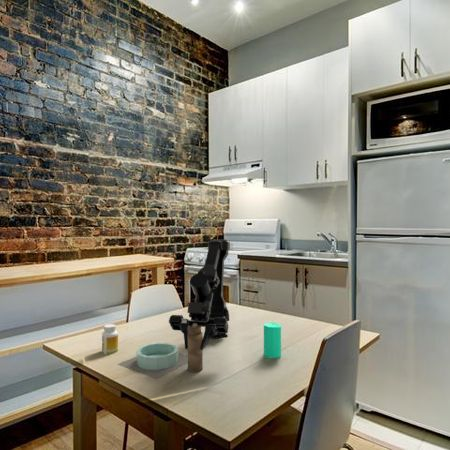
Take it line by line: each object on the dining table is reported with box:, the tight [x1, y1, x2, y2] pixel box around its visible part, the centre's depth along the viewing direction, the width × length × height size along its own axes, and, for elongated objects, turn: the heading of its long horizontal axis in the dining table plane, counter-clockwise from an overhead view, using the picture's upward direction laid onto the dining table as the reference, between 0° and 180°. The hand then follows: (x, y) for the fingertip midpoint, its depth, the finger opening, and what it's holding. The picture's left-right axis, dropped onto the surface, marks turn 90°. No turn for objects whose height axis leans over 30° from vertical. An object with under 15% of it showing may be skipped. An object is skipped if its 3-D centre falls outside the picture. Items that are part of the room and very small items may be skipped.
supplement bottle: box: [101, 323, 119, 355], centre depth 124 cm, size 5×5×10 cm
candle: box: [263, 320, 282, 359], centre depth 122 cm, size 6×6×12 cm
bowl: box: [136, 342, 179, 370], centre depth 115 cm, size 13×13×4 cm
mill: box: [187, 323, 204, 373], centre depth 109 cm, size 5×5×14 cm
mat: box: [117, 352, 188, 379], centre depth 115 cm, size 18×18×1 cm
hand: (193, 349), depth 107 cm, fingers closed on mill, 5 cm apart
